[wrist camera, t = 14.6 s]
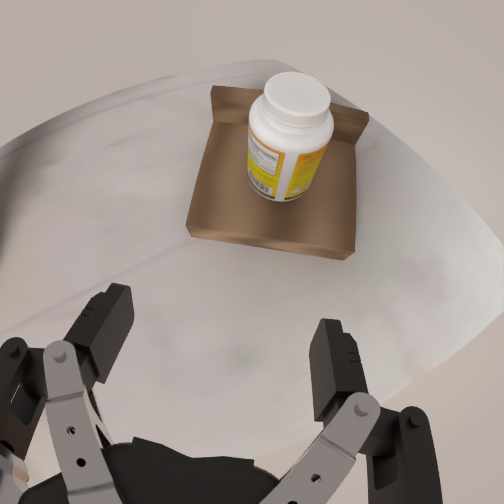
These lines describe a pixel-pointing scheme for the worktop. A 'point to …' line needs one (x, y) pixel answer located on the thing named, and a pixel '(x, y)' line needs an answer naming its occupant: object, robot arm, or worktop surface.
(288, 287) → the worktop surface
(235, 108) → the walnut shelf step
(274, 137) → the supplement bottle
